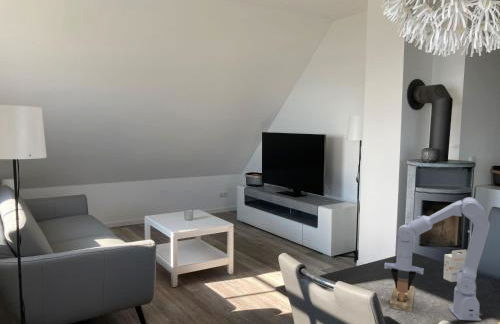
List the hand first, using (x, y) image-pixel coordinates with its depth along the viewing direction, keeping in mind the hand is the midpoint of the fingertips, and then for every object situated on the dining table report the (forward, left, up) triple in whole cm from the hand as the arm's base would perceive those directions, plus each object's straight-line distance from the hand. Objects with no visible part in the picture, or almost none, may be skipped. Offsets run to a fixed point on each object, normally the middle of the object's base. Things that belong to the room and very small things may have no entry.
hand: (402, 288), depth 163 cm
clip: (0, 0, -5) cm, 5 cm away
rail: (+4, -1, -6) cm, 7 cm away
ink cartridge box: (+28, -32, -6) cm, 43 cm away
